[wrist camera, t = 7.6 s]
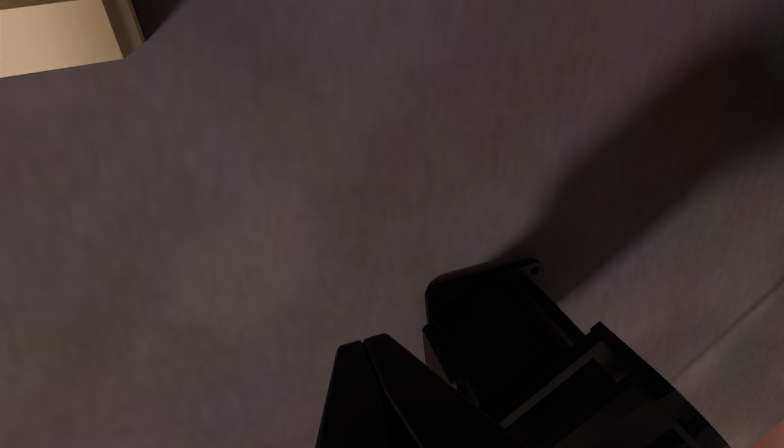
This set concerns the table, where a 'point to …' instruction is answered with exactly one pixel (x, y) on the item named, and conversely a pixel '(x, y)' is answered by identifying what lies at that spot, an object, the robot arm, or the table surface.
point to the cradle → (65, 33)
